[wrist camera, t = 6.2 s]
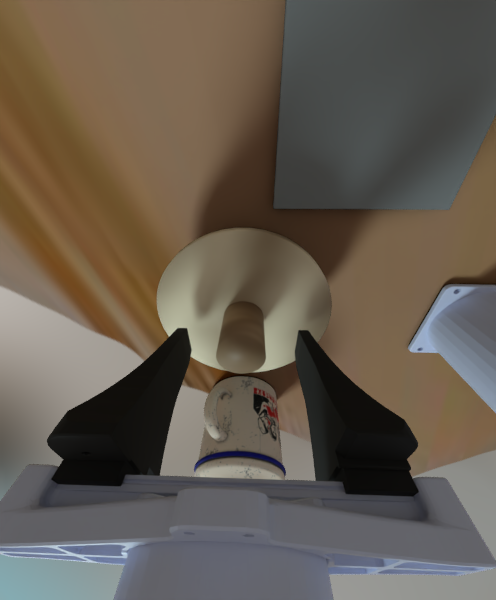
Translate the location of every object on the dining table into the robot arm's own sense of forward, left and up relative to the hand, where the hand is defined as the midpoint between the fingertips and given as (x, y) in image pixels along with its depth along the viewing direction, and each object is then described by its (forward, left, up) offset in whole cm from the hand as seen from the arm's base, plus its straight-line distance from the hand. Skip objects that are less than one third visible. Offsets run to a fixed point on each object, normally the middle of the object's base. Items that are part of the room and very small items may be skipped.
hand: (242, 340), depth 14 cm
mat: (-8, -13, -6) cm, 17 cm away
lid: (0, -1, -2) cm, 2 cm away
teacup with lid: (+1, +15, -7) cm, 16 cm away
